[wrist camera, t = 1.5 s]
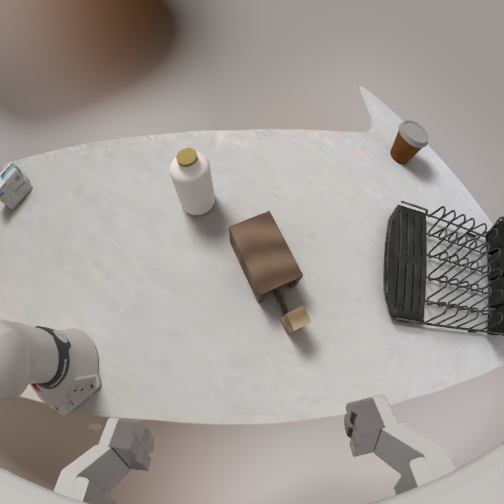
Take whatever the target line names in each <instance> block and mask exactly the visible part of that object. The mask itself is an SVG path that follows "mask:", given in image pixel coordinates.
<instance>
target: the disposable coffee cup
mask: <svg viewBox="0 0 504 504" xmlns="http://www.w3.org/2000/svg"><path fill="white" fill-rule="evenodd" d="M427 143H428V135H427V132H426V131H425V129H424V128H422V126H421V125H419V124H418V123H416V122H414V121H410V120H406V121H404V122H402V123H401V124H400V125H399V131H398V134H397V136H396V139H395V141H394V144H393V146H392V149H391V152H390V153H391V156H392V158H393V159H394V160H395V161H396V162H398V163H400V164H406V163H407V162H408V161H409V160H410V159H411V158H412V157H413V156H414V155H415V154H416V153H417V152H418V151H419V150H420V149H421V148H422V147H425V146H426V145H427Z"/></svg>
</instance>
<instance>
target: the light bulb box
mask: <svg viewBox="0 0 504 504" xmlns="http://www.w3.org/2000/svg"><path fill="white" fill-rule="evenodd" d="M32 188H33V187H32V185H31V183H30V181H29V179H28V178H27V177H26V176H25V175H24V174H23V173H22V172H21V171H20V169H19V168H18V167H17V166H16V165H15V164H14V163H13V162H12V161H11V162H10V163H9V164H8V165H7V166H6V168H5V169H4V170H3V171H2V172H1V174H0V201H2V202H3V203H4V204H5V205H6V206H8V207H9V208H10V209H11V210H13V209H14V208H15V207H16V206H17V205H18V203H19V202H20V201H21V200H22V199H23V198H24V197H25V196H26V194H27V193H28V192H29V191H30V190H31V189H32Z"/></svg>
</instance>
